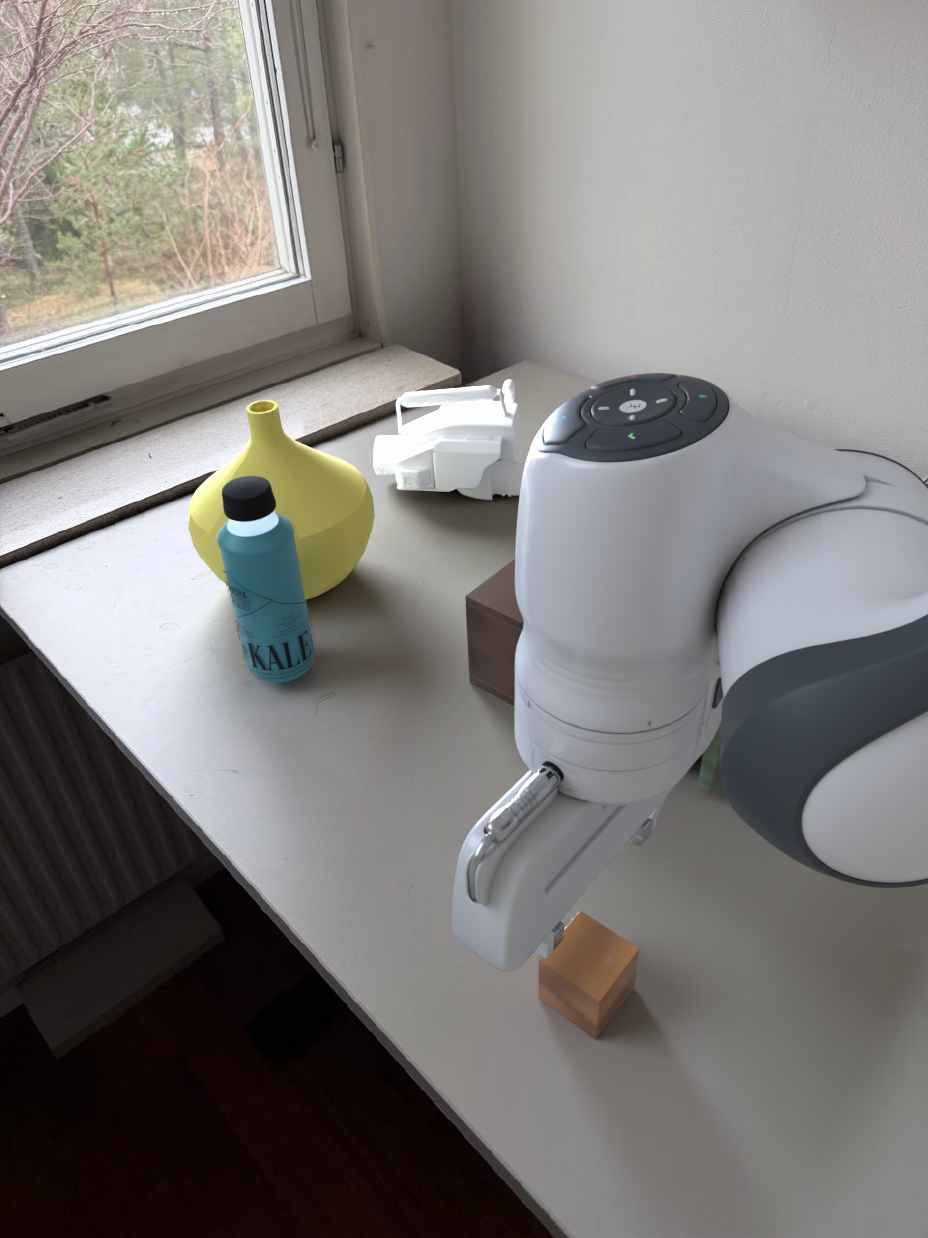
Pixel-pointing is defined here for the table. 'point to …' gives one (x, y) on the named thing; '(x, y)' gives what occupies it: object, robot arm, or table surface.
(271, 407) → the vase
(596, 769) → the robot arm
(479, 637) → the cabinet
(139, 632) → the table surface
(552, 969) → the block
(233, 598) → the beverage bottle
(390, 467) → the chainsaw
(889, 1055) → the table surface
